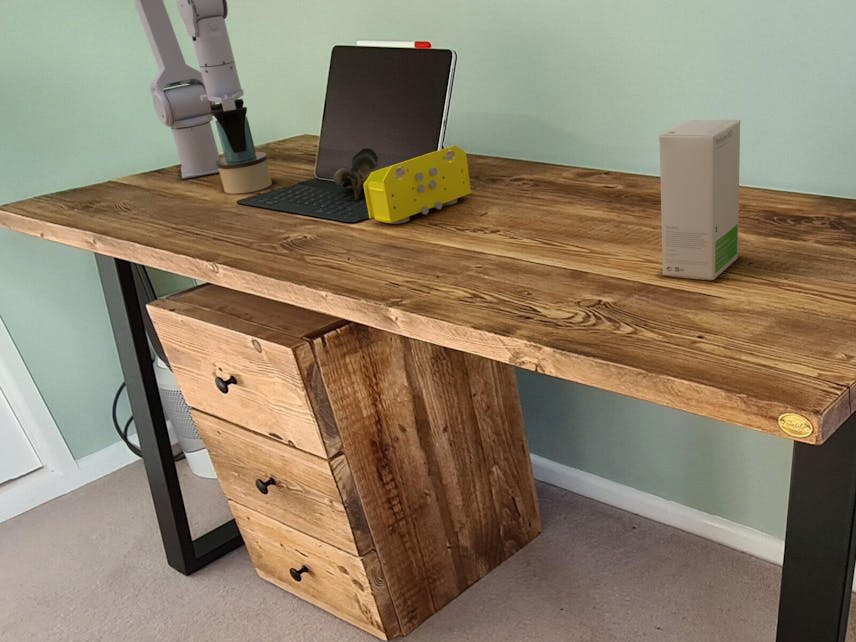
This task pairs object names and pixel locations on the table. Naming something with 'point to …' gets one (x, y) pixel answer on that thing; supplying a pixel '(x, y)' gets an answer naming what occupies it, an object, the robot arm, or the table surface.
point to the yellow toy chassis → (417, 185)
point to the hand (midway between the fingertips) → (238, 148)
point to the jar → (245, 174)
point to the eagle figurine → (357, 171)
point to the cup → (227, 149)
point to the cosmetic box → (700, 197)
